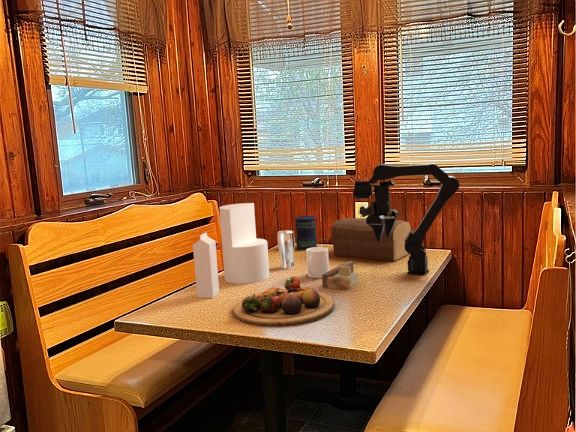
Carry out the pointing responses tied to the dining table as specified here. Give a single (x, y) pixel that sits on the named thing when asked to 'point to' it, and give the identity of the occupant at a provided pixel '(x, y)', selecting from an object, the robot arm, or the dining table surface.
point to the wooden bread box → (368, 240)
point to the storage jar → (305, 232)
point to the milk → (206, 267)
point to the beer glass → (286, 248)
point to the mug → (317, 261)
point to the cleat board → (337, 278)
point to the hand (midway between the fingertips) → (383, 239)
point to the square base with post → (347, 274)
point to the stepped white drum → (242, 245)
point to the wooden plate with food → (284, 306)
